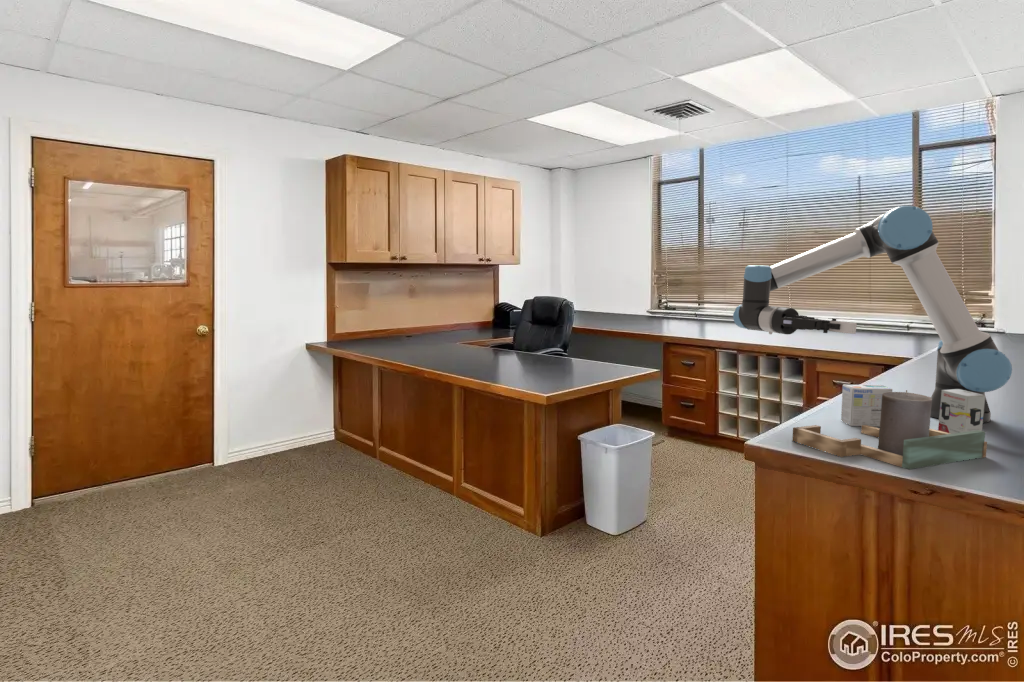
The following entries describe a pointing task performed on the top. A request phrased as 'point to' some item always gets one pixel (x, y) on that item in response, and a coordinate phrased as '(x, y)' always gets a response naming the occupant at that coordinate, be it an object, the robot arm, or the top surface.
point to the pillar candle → (903, 419)
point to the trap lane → (915, 451)
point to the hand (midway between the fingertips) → (854, 328)
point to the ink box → (961, 411)
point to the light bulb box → (862, 404)
